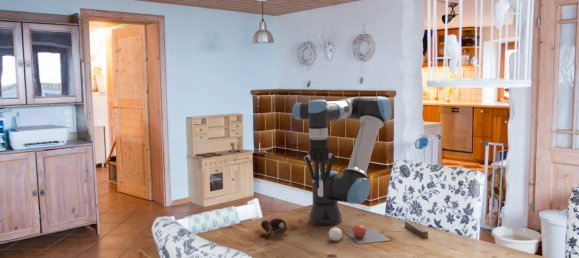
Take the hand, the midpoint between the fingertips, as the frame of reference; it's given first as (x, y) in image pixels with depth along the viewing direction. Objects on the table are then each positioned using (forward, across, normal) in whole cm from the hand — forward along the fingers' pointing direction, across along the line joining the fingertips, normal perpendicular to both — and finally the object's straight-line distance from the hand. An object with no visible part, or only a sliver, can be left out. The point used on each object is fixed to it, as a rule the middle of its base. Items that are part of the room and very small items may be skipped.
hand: (320, 195), depth 194 cm
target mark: (+19, +19, -2) cm, 27 cm away
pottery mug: (+19, -17, +13) cm, 29 cm away
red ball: (+16, +16, -2) cm, 23 cm away
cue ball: (+16, +5, -2) cm, 17 cm away
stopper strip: (+20, +41, -3) cm, 46 cm away
